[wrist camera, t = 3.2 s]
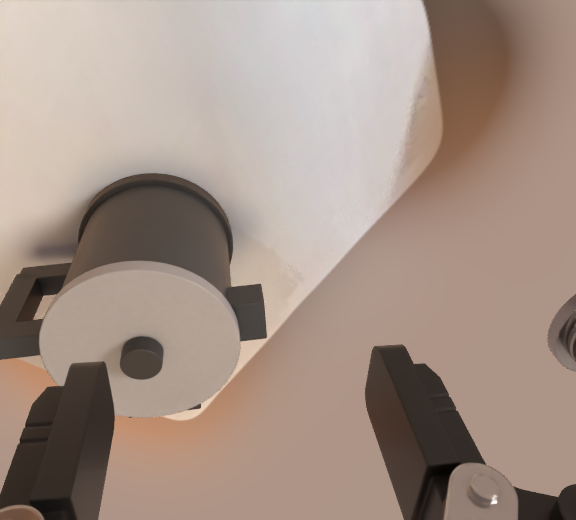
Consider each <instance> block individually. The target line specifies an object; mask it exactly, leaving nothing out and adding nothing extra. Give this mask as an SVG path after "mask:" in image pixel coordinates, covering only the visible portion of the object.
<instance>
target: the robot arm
mask: <svg viewBox="0 0 576 520" xmlns="http://www.w3.org/2000/svg"><path fill="white" fill-rule="evenodd" d="M567 349H568V352H569V354H570V356H571V357H572V358H573V360H574V361H575V362H576V324H575V325H574V327H573V328H572V330H571V332H570V334H569V337H568V341H567ZM365 399H366V407H367V411H368V414H369V417H370V420H371V423H372V426H373V429H374V432H375V435H376V438H377V441H378V444H379V447H380V450H381V453H382V456H383V458H384V461H385V465H386V467H387V470H388V473H389V476H390V479H391V482H392V485H393V488H394V491H395V494H396V497H397V500H398V503H399V506H400V509H401V512H402V514H403V518H404V520H576V484H574V485H570V486H567V487H566V488H564V489H563V490H562V491H561V493H560V495H559V497H555V496H550V495H545V494H540V493H536V492H531V491H526V490H522V489H519V488H516V487H514V486H512V484H511V483H510V482H509V480H508V479H507V478H506V477H505V476H504V475H503V474H501V473H500V472H499V471H497V470H496V469H494V468H492V467H490V466H487V465H486V464H485V462H484V460H483V458H482V456H481V455H480V453H479V451H478V449H477V447H476V445H475V443H474V441H473V439H472V437H471V436H470V434H469V432H468V430H467V428H466V426H465V424H464V422H463V420H462V418H461V416H460V415H459V413H458V411H456V407H455V405H454V403H453V401H452V399H451V398H450V397H449V394H448V392H447V390H446V388H445V386H444V384H443V382H442V380H441V378H440V377H439V376H438V375H437V374H436V373H435V372H433V371H432V370H431V369H430V368H429V367H428V366H427V365H426V364H413V362H412V360H411V357H410V356H409V353H408V351H407V349H406V348H405V346H403V345H387V346H374V348H373V350H372V354H371V359H370V365H369V371H368V377H367V382H366V388H365ZM114 415H115V414H114V403H113V398H112V392H111V387H110V382H109V376H108V371H107V366H106V363H105V362H104V361H100V362H83V363H72V364H71V365H70V367H69V370H68V374H67V377H66V380H65V384H64V386H55V387H47V388H46V389H45V391H44V392H43V393H42V394H41V395H40V396H39V397H38V399H37V400H36V401H35V402H34V403H33V404H32V407H31V410H30V412H29V415H28V418H27V421H26V424H25V428H24V429H23V432H22V435H21V438H20V443H19V444H18V446H17V449H16V452H15V454H14V457H13V460H12V463H11V466H10V469H9V471H8V474H7V477H6V480H5V482H4V485H3V488H2V491H1V494H0V520H98V516H99V511H100V504H101V500H102V494H103V487H104V483H105V477H106V471H107V466H108V460H109V454H110V449H111V443H112V437H113V431H114V420H115V419H114V418H115V416H114Z"/></svg>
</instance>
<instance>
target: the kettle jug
mask: <svg viewBox="0 0 576 520" xmlns="http://www.w3.org/2000/svg"><path fill="white" fill-rule="evenodd" d="M232 252H233V240H232V232H231V227H230V224H229V221H228V218H227V216H226V214H225V212H224V210H223V209H222V208H221V206H220V205H219V203H218V202H217V201H216V200H215V199H214V198H213V197H212V196H211V195H210V194H209V193H207V192H206V191H205V190H204V189H202V188H201V187H199V186H197V185H196V184H194V183H192V182H189V181H187V180H185V179H182V178H179V177H176V176H171V175H166V174H140V175H134V176H130V177H127V178H124V179H121V180H119V181H117V182H115V183H113V184H111V185H110V186H108V187H106V188H105V189H104V190H103V191H101V192H100V193H99V194H98V195H97V196H96V197H95V198H94V199H93V201H92V202H91V204H90V205H89V207H88V208H87V210H86V213H85V215H84V217H83V219H82V222H81V225H80V229H79V236H78V248H77V250H76V253H75V256H74V258H73V261H72V263H65V264H55V265H46V266H36V267H27V268H23V269H22V271H21V273H20V274H17V275H16V277H15V279H14V281H13V283H12V284H11V286H10V288H9V290H8V292H7V294H6V296H5V297H4V299H3V301H2V303H1V305H0V360H2V359H9V358H19V357H27V356H35V355H41V358H42V361H43V364H44V366H45V368H46V370H47V372H48V373H49V375H50V376H51V378H52V379H53V380H54V382H55V383H56V384H57V385H58V386H64V384H65V380H66V377H67V374H68V370H69V367H70V365H71V364H72V363H83V362H100V361H104V362H105V363H106V366H107V371H108V376H109V382H110V387H111V392H112V398H113V403H114V414H115V415H119V416H125V417H129V418H132V417H137V418H140V417H141V418H143V417H146V418H147V417H160V416H165V415H171V414H175V413H178V412H182V411H185V410H192V409H200V408H201V403H203V402H204V401H206V400H207V399H209V398H210V397H212V396H213V395H214V394H215V393H217V392H218V391H219V390H220V389H221V388H222V387H223V386H224V385H225V384H226V382H227V381H228V380H229V378H230V377H231V375H232V374H233V372H234V370H235V368H236V365H237V362H238V359H239V354H240V341H247V340H255V339H264V338H267V333H266V321H265V308H264V299H263V293H262V287H261V284H255V285H246V286H237V287H231V279H230V262H231V259H232ZM54 294H57V295H56V296H55V298H54V299H53V301H52V302H51V304H50V306H49V308H48V310H47V312H46V314H45V317H44V319H38V320H33V318H34V316H35V314H36V311H37V309H38V307H39V304H40V302H41V300H42V297H43V296H45V295H54Z"/></svg>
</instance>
